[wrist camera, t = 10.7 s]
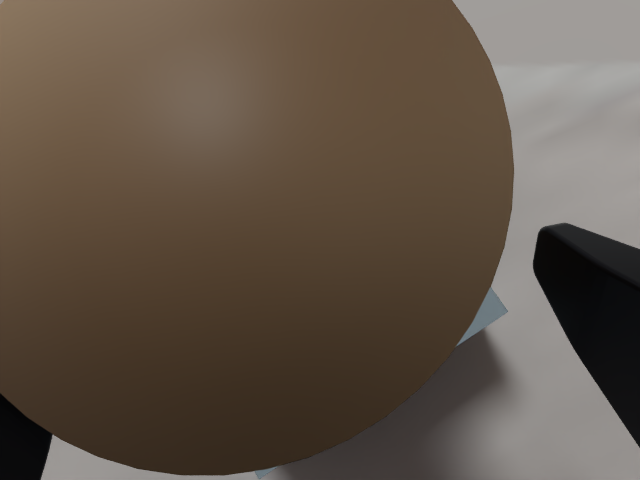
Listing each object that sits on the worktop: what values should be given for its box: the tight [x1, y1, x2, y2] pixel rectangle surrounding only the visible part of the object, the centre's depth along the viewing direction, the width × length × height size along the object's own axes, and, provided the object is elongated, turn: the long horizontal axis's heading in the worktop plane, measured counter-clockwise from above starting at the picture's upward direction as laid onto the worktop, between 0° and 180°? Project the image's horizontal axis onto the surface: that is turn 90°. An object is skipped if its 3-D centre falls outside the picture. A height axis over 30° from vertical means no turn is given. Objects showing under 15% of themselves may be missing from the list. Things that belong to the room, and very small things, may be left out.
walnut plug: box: [0, 0, 514, 475], centre depth 10 cm, size 4×4×13 cm
